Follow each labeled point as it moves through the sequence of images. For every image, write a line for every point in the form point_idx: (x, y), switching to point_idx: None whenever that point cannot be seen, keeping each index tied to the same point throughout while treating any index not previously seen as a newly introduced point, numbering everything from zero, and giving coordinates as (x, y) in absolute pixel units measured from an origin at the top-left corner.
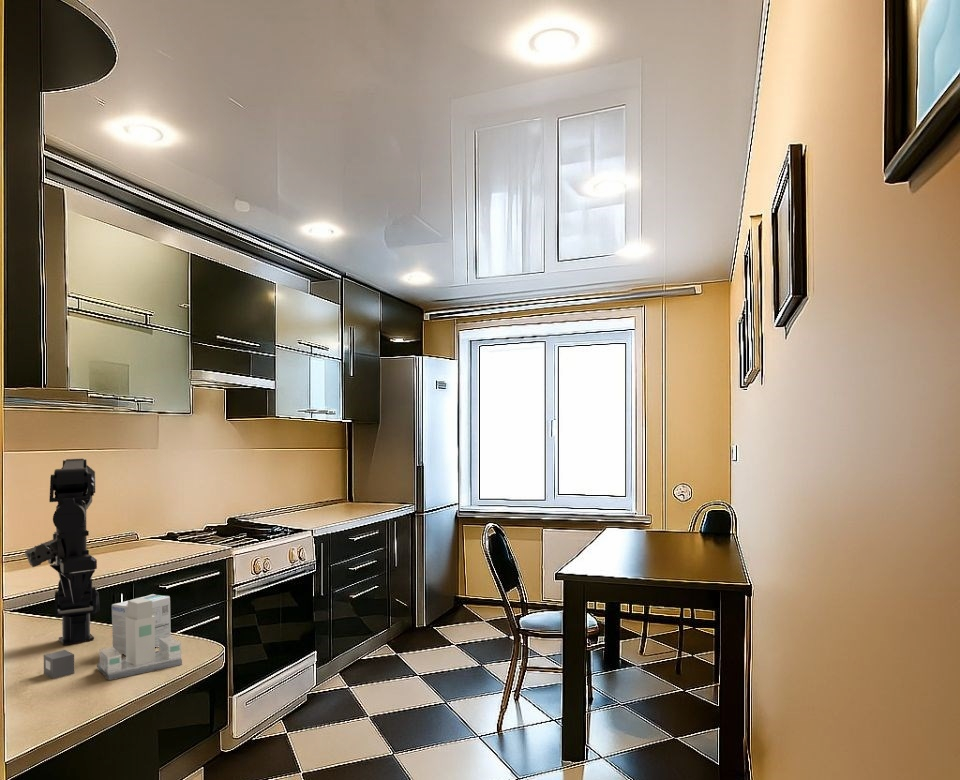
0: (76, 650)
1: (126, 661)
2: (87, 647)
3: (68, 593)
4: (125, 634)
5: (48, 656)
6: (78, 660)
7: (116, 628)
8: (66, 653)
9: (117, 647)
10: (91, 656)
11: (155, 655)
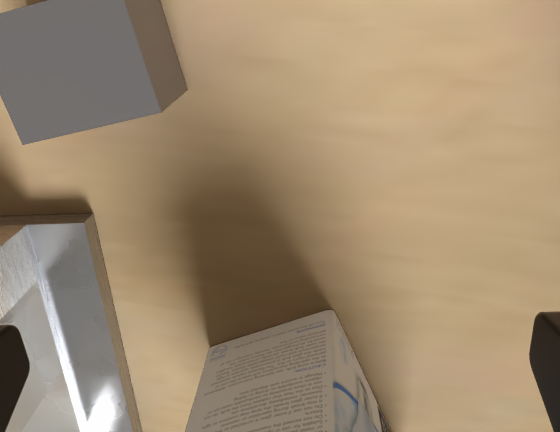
0: (514, 184)
1: (9, 322)
2: (526, 236)
3: (548, 367)
4: (212, 407)
5: (54, 5)
6: (301, 165)
7: (287, 402)
8: (67, 110)
9: (289, 337)
10: (330, 225)
11: (39, 416)
